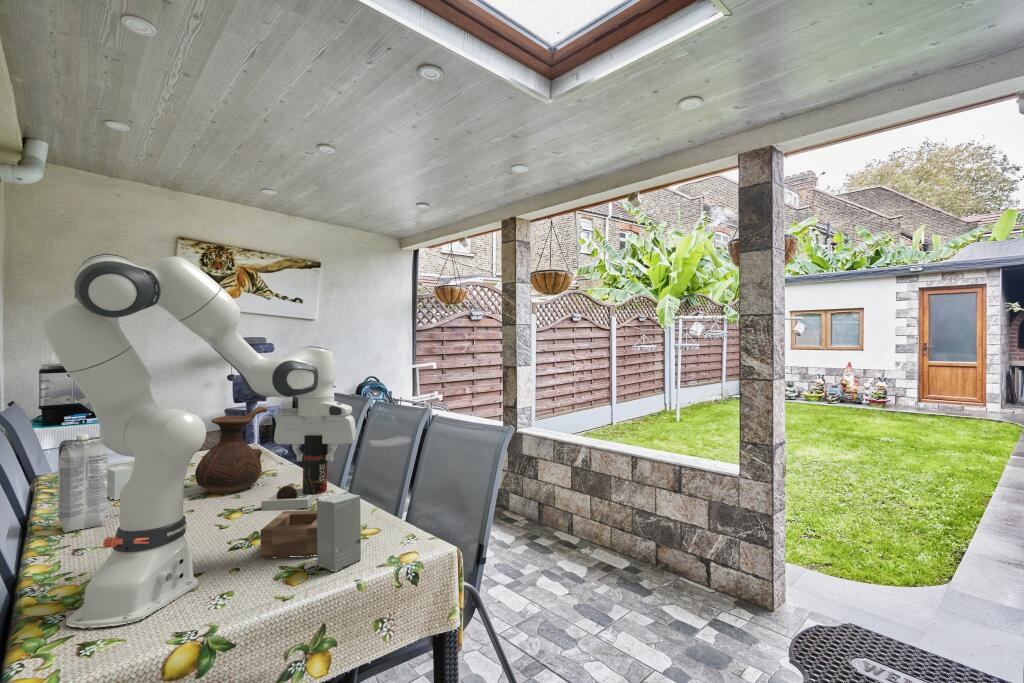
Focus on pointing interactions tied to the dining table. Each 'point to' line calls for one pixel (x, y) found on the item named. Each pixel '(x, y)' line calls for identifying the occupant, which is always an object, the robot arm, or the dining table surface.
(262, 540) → the holder
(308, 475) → the deodorant
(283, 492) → the compass
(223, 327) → the robot arm
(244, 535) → the dining table surface
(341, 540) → the skincare box
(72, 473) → the juice carton
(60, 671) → the dining table surface
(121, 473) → the small box
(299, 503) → the watch tray
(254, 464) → the jug
